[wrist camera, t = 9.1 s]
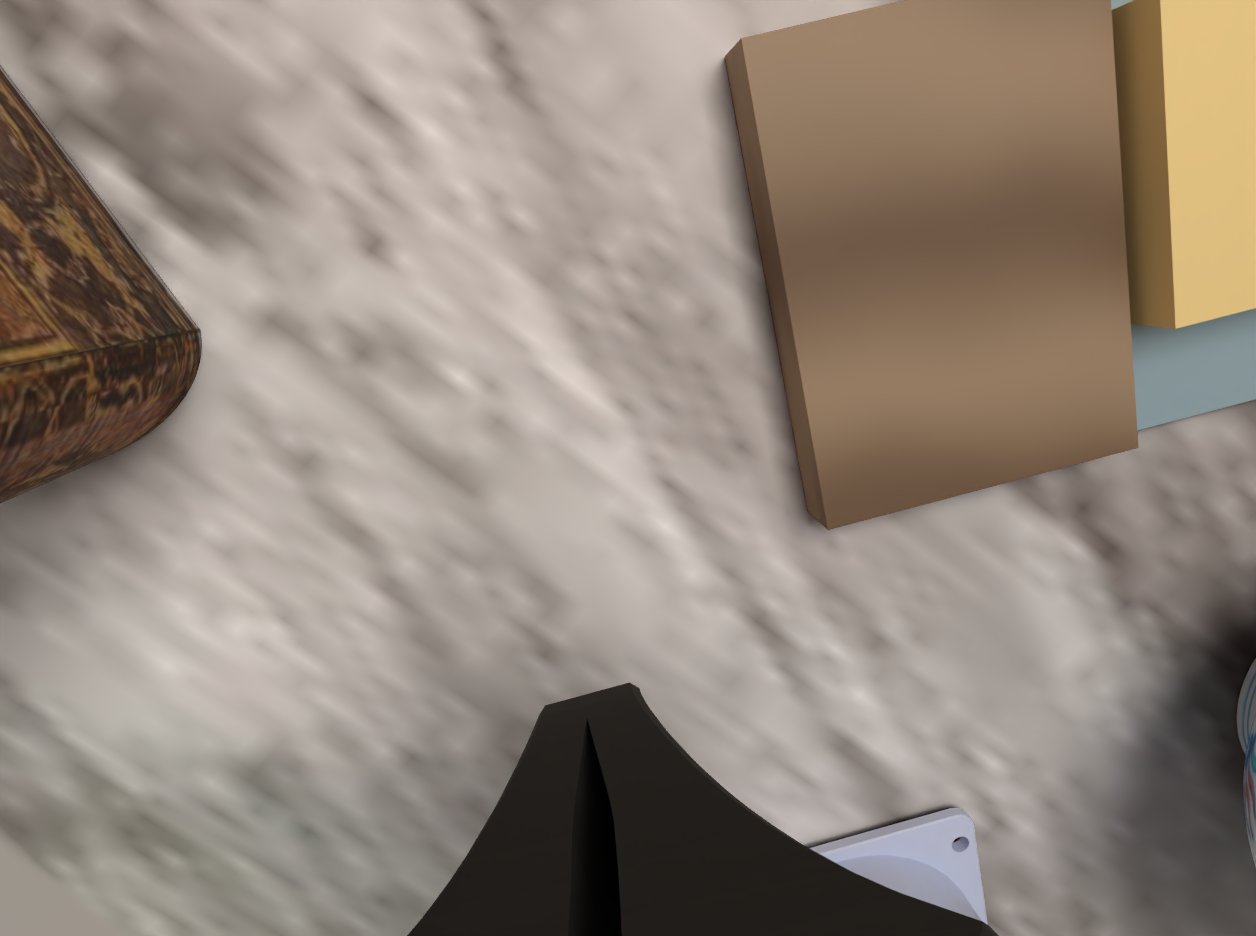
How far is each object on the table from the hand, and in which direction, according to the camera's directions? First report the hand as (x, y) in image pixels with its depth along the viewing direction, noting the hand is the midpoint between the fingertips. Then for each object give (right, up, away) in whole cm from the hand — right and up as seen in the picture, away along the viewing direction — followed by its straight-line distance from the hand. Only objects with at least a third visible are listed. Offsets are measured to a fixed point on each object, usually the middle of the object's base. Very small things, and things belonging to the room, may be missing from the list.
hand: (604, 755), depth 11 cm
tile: (+15, +12, +8) cm, 20 cm away
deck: (+8, +9, +8) cm, 14 cm away
